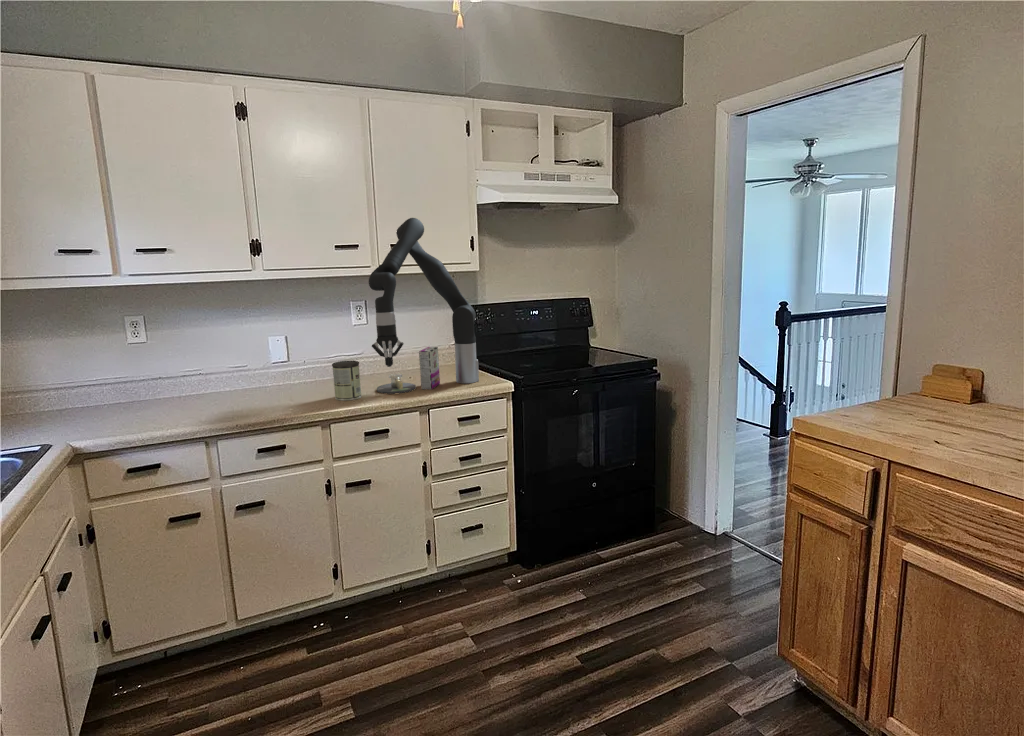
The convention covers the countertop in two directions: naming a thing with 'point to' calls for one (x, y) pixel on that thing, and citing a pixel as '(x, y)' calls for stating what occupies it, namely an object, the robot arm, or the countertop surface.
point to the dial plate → (390, 390)
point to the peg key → (396, 380)
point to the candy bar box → (429, 368)
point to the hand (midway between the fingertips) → (389, 366)
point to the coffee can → (346, 380)
